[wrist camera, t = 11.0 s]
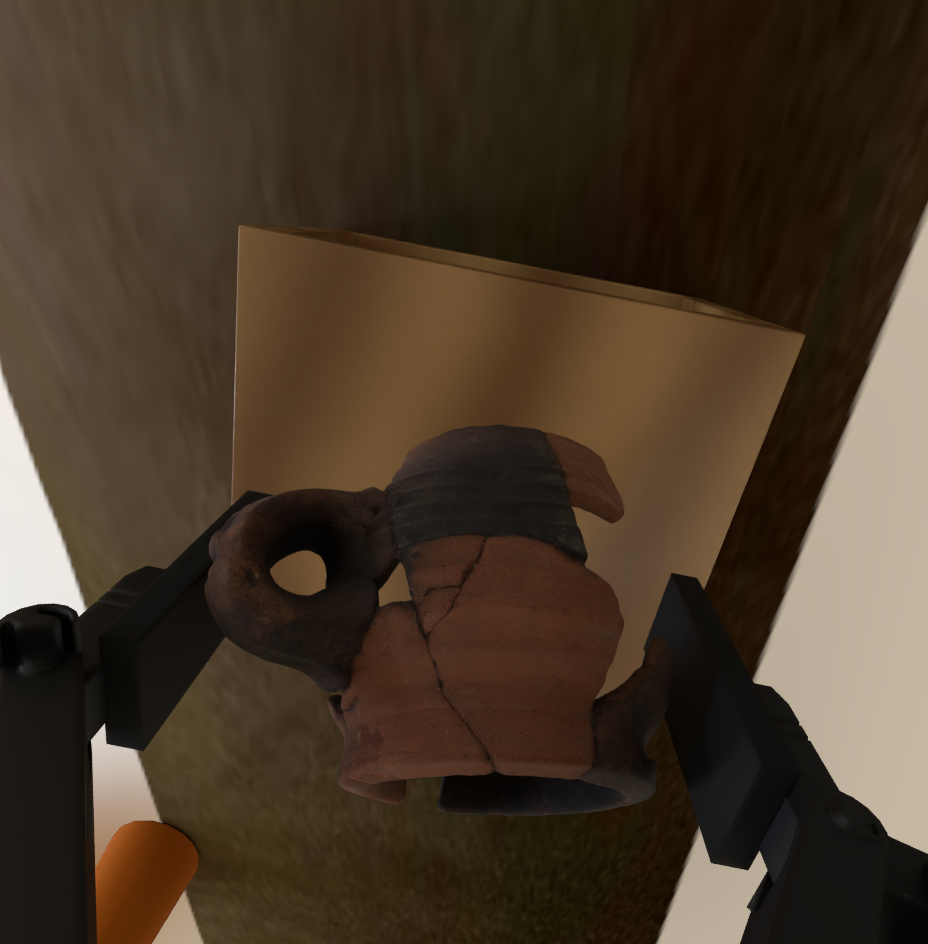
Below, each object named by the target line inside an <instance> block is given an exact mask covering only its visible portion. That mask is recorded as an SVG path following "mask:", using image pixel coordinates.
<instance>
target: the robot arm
mask: <svg viewBox="0 0 928 944" xmlns="http://www.w3.org/2000/svg"><path fill="white" fill-rule="evenodd" d="M269 496H272V495H271V494H266V493H261V492H255V491H250V490H247V491H246V492H245V493H244V494H243V495H242V496H241V497H240V498H239V499H238V500H237V501H236V502H235V503H234V504H233V505H232V506H231V507H230V508H229V509H228V510H227V511H226V512H225V513H224V514H223V515H222V516H221V517H219V518H218V519H217V520H216V521H215V522H214V523H213V524H212V525H211V526H210V527H209V528H208V529H207V530H206V531H205V532H204V533H203V534H202V535H201V536H200V537H199V538H198V539H197V540H196V541H195V542H194V543H193V544H192V545H191V546H189V547H188V548H187V549H186V550H185V551H184V552H183V553H182V554H181V555H180V556H179V557H178V558H177V559H176V560H175V561H174V562H173V563H172V564H171V565H170V566H169V567H168V568H167V569H161V568H156V567H151V566H145V567H143V568H141V569H139V570H137V571H135V572H132V573H130V574H128V575H126V576H125V577H124V578H122V579H121V580H120V581H119V582H118V583H117V584H116V585H114V586H113V587H112V588H111V590H110V592H109V591H108V592H107V593H105V594H104V595H103V596H102V597H101V598H100V599H99V600H98V602H95V603H94V604H93V605H92V606H91V607H90V608H88V609H87V610H86V611H85V612H84V613H83V614H82V615H80V616H78V614H77V612H76V611H75V610H73V609H72V608H70V607H68V606H65V605H59V604H38V605H33V606H29V607H25V608H21V609H19V610H17V611H15V612H12V613H10V614H8V615H6V616H5V617H3V618H2V619H1V620H0V944H97V916H96V880H95V845H94V808H93V772H92V747H91V739H92V738H93V737H94V735H95V734H96V733H97V732H98V731H99V730H100V728H101V727H102V726H103V725H104V724H105V729H106V742H107V744H110V745H116V746H121V747H126V748H131V749H136V750H141V751H144V750H145V748H146V747H147V746H148V744H149V743H150V741H151V740H152V739H153V737H154V736H155V734H156V733H157V732H158V730H159V729H160V727H161V726H162V725H163V723H164V722H165V720H166V719H167V718H168V716H169V715H170V713H171V712H172V711H173V709H174V708H175V706H176V705H177V704H178V702H179V701H180V699H181V698H182V697H183V695H184V694H185V692H186V691H187V690H188V688H189V687H190V685H191V684H192V683H193V681H194V680H195V678H196V677H197V676H198V674H199V673H200V671H201V670H202V669H203V667H204V666H205V664H206V663H207V662H208V660H209V659H210V657H211V656H212V655H213V653H214V652H215V650H216V649H217V648H218V646H219V645H220V643H221V642H222V641H223V639H224V638H225V636H226V635H225V634H224V633H223V632H222V631H221V629H220V628H219V626H218V625H217V623H216V621H215V619H214V617H213V616H212V614H211V612H210V610H209V607H208V604H207V601H206V598H205V592H204V587H205V583H206V581H207V579H208V572H209V570H210V568H211V566H212V565H213V561H212V559H211V557H210V556H209V543H210V540H211V537H212V536H213V534H214V533H216V532H217V531H218V530H220V529H221V528H222V527H223V526H224V525H225V523H226V521H227V520H228V519H229V518H230V517H231V516H232V515H233V514H235V513H236V512H238V511H240V510H242V509H243V508H244V507H245V506H247V505H249V504H252V503H254V502H256V501H258V500H260V499H263V498H266V497H269ZM658 636H660V637H662V638H664V639H665V640H666V641H667V642H668V644H669V647H670V649H671V651H672V653H673V656H674V658H675V660H676V665H677V666H676V671H675V674H674V676H673V679H672V683H671V689H670V693H669V697H670V699H669V705H668V707H667V710H666V712H665V714H664V715H665V718H666V722H667V725H668V728H669V731H670V734H671V738H672V741H673V744H674V747H675V750H676V753H677V757H678V760H679V763H680V766H681V769H682V772H683V776H684V779H685V782H686V785H687V788H688V791H689V795H690V798H691V801H692V804H693V807H694V811H695V814H696V817H697V820H698V823H699V826H700V830H701V833H702V836H703V839H704V842H705V845H706V849H707V852H708V855H709V858H710V861H711V863H714V864H719V865H724V866H729V867H734V868H739V869H744V870H749V868H750V866H751V865H752V863H753V861H754V859H755V857H756V856H757V854H758V852H759V850H760V852H761V854H762V857H763V860H764V862H765V864H766V867H767V870H768V871H767V873H766V875H765V876H764V878H763V880H762V881H761V883H760V885H759V887H758V888H757V890H756V892H755V894H754V895H753V897H752V899H751V901H750V902H749V904H748V906H747V908H748V909H750V910H751V913H750V916H749V919H748V922H747V925H746V927H745V930H744V933H743V936H742V940H741V943H740V944H928V854H927V853H924V852H922V851H920V850H918V849H915V848H913V847H911V846H909V845H907V844H904V843H902V842H900V841H898V840H895V839H893V838H891V837H890V836H888V835H887V832H886V830H885V829H884V827H883V825H882V824H881V822H880V820H879V819H877V817H876V816H875V815H874V814H873V813H872V812H871V811H870V810H869V809H868V808H867V807H865V806H864V805H863V804H861V803H860V802H859V801H857V800H856V799H854V798H853V797H851V796H849V795H847V794H845V793H843V792H841V791H839V789H838V787H837V786H836V784H835V782H834V781H833V779H832V777H831V776H830V774H829V772H828V770H827V769H826V767H825V765H824V764H823V762H822V760H821V758H820V757H819V755H818V753H817V752H816V750H815V748H814V747H813V745H812V743H811V741H808V736H807V735H806V733H805V731H804V730H803V728H802V726H799V721H798V719H797V718H796V716H795V714H794V712H793V711H792V709H791V707H790V706H789V704H788V703H787V702H786V701H785V700H784V699H783V698H782V697H781V696H780V695H779V694H778V693H777V692H776V691H775V690H774V689H773V688H772V687H770V686H765V685H760V684H755V683H754V682H753V680H752V679H751V677H750V675H749V673H748V671H747V669H746V667H745V665H744V664H743V662H742V660H741V658H740V656H739V654H738V652H737V651H736V649H735V647H734V645H733V643H732V641H731V639H730V638H729V636H728V634H727V632H726V630H725V628H724V626H723V625H722V623H721V621H720V619H719V617H718V615H717V613H716V611H715V610H714V608H713V606H712V604H711V602H710V600H709V598H708V597H707V595H706V593H705V591H704V589H703V587H702V585H701V584H700V582H699V580H698V578H696V577H691V576H685V575H680V574H675V573H671V575H670V578H669V580H668V583H667V586H666V589H665V591H664V594H663V597H662V599H661V602H660V605H659V608H658V610H657V613H656V616H655V618H654V621H653V624H652V626H651V629H650V632H649V635H648V637H647V640H646V643H645V645H644V648H643V649H644V652H646V648H647V646H648V644H649V642H650V641H651V640H652V639H653V638H655V637H658Z"/></svg>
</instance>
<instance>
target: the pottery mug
mask: <svg viewBox="0 0 928 944" xmlns="http://www.w3.org/2000/svg"><path fill="white" fill-rule="evenodd" d="M572 507H575V508H581V509H583V510H585V511H587V512H590V513H592V514H594V515H596V516H598V517H600V518H602V519H604V520H606V521H607V522H609V523H616V522H617V521H619V520H620V519H621V518H622V517H623V515H624V505H623V501H622V498H621V496H620V494H619V492H618V490H617V488H616V486H615V484H614V482H613V480H612V478H611V476H610V475H609V473H608V471H607V467H606V464H605V462H604V460H603V459H602V458H601V456H599V455H597V454H596V453H595V452H594V451H592V450H591V449H589V448H588V447H587V446H584V445H582V444H580V443H578V442H576V441H574V440H572V439H570V438H567V437H563V436H559V435H556V434H554V433H548V432H543V431H541V430H538V429H533V428H527V427H513V426H507V425H503V424H499V425H491V426H471V427H465V428H459V429H454V430H451V431H448V432H445V433H443V434H441V435H440V436H436V437H433V438H431V439H428V440H426V441H425V442H423V443H421V444H419V445H417V446H416V447H414V448H412V449H410V451H409V452H408V454H407V456H406V458H405V460H404V462H403V464H402V466H401V468H400V469H399V470H398V471H397V472H396V473H395V475H394V476H393V478H392V481H391V483H390V484H389V485H388V486H387V487H386V488H385V490H384V491H381V490H379V489H378V488H376V487H369V488H366V489H364V490H361V491H355V492H354V491H343V490H335V489H319V488H310V489H297V490H292V491H287V492H283V493H280V494H277V495H272V496H269V497H266V498H263V499H260V500H258V501H256V502H254V503H252V504H249V505H247V506H245V507H244V508H243V509H242V510H240V511H238V512H236V513H235V514H233V515H232V516H231V517H230V518H229V519H228V520H227V521H226V523H225V525H224V526H223V527H222V528H221V529H220V530H218V531H217V532H216V533H214V534H213V536H212V537H211V540H210V543H209V556H210V557H211V559H212V561H213V565H212V566H211V568H210V570H209V572H208V579H207V581H206V583H205V587H204V592H205V598H206V601H207V604H208V607H209V610H210V612H211V614H212V616H213V617H214V619H215V621H216V623H217V625H218V626H219V628H220V629H221V631H222V632H223V633H224V634H225V635H226V637H227V638H228V639H229V640H230V641H232V642H233V643H234V644H236V645H237V646H238V647H240V648H241V649H243V650H245V651H246V652H248V653H250V654H252V655H254V656H256V657H259V658H261V659H264V660H266V661H269V662H273V663H276V664H280V665H284V666H287V667H291V668H294V669H296V670H299V671H301V672H303V673H305V674H306V675H308V676H309V677H310V678H311V679H312V680H313V681H314V682H315V683H316V684H317V685H318V686H319V687H320V688H321V689H323V690H324V691H331V692H336V691H339V690H340V691H341V692H342V696H341V695H334V696H331V697H329V698H328V699H327V705H328V708H329V710H330V713H331V715H332V717H333V718H334V721H335V723H336V724H337V726H338V727H339V728H340V729H341V731H342V733H343V735H344V737H345V741H344V751H343V759H342V763H341V765H340V768H339V770H338V774H337V777H338V782H339V785H340V786H341V787H342V788H344V789H345V790H347V791H350V792H352V793H354V794H358V795H360V796H364V797H368V798H371V799H376V800H380V801H383V802H386V803H390V804H396V805H399V804H402V803H403V801H404V800H405V797H406V784H407V779H411V778H419V777H436V776H442V783H441V790H440V796H439V799H438V803H437V808H438V810H439V811H442V812H447V813H458V814H476V815H489V814H499V815H506V816H524V815H528V816H530V815H533V816H537V815H548V814H569V813H574V814H575V813H584V812H587V813H590V812H593V811H602V810H607V809H612V808H617V807H621V806H628V805H631V804H635V803H638V802H641V801H644V800H646V799H648V798H650V796H652V795H653V793H654V792H655V791H656V786H655V784H656V770H657V768H658V764H657V762H655V761H654V760H653V759H648V758H647V756H646V751H645V747H646V745H647V743H648V742H649V740H650V738H651V737H652V735H653V733H654V732H655V731H656V729H657V728H658V727H659V725H660V723H661V721H662V718H663V716H664V714H665V712H666V710H667V707H668V705H669V699H670V697H669V693H670V689H671V683H672V679H673V676H674V674H675V671H676V666H677V665H676V660H675V658H674V656H673V653H672V651H671V649H670V647H669V644H668V642H667V641H666V640H665V639H664V638H662V637H660V636H658V637H655V638H653V639H652V640H651V641H650V642H649V644H648V646H647V648H646V652H645V655H644V659H643V663H642V666H641V667H640V668H638V669H636V670H635V671H634V672H633V673H632V675H631V676H630V677H629V678H628V679H627V680H626V681H625V682H624V683H623V684H621V685H620V686H618V687H617V688H616V689H614V690H613V691H610V692H608V693H606V694H604V695H603V696H601V697H599V698H597V699H595V698H596V696H597V695H598V693H599V692H600V690H601V688H602V687H603V685H604V683H605V681H606V673H607V670H608V668H609V667H610V665H611V664H612V662H613V659H614V656H615V654H616V650H617V646H618V642H619V640H620V637H621V635H622V632H623V627H624V619H623V617H622V615H621V612H620V607H619V603H618V599H617V597H616V595H615V593H614V591H613V588H612V587H611V585H610V584H609V583H608V582H606V581H605V580H604V579H602V578H601V577H600V576H598V575H597V574H596V573H595V572H593V571H591V570H589V569H588V568H587V567H586V566H585V562H586V561H587V558H588V553H587V550H586V548H585V543H584V540H583V536H582V533H581V530H580V529H579V527H578V526H577V522H576V517H575V513H574V510H573V508H572ZM299 551H311V552H313V553H315V554H317V555H319V556H320V557H321V558H322V560H323V562H324V564H325V567H326V575H327V577H326V583H325V586H326V588H325V589H323V590H320V591H318V592H316V593H314V594H312V595H299V594H295V593H292V592H289V591H287V590H285V589H283V588H282V587H280V586H279V585H278V584H277V583H276V582H275V581H274V579H273V577H272V575H271V573H270V569H271V568H272V567H273V566H274V565H275V564H276V563H277V562H278V561H280V560H282V559H284V558H285V557H287V556H289V555H291V554H294V553H296V552H299ZM399 563H401V564H402V565H403V568H404V570H405V573H406V579H407V581H408V586H409V593H410V595H411V597H412V600H409V601H394V602H390V603H387V604H386V605H384V606H381V607H380V606H379V592H378V591H379V590H380V589H381V588H382V587H383V586H384V584H385V583H386V582H387V581H388V579H389V578H390V576H391V574H392V573H393V571H394V570H395V569H396V567H397V566H398V564H399Z"/></svg>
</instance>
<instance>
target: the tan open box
mask: <svg viewBox="0 0 928 944" xmlns="http://www.w3.org/2000/svg"><path fill="white" fill-rule="evenodd" d="M804 339H805V335H804V334H802V333H799V332H796V331H793V330H790V329H787V328H784V327H782V326H779V325H776V324H773V323H770V322H767V321H764V320H761V319H758V318H755V317H753V316H750V315H747V314H744V313H741V312H738V311H735V310H732V309H729V308H726V307H724V306H721V305H718V304H715V303H712V302H709V301H706V300H703V299H700V298H695V297H690V296H685V295H680V294H675V293H669V292H664V291H659V290H654V289H649V288H644V287H638V286H633V285H628V284H623V283H618V282H613V281H607V280H602V279H597V278H592V277H587V276H582V275H576V274H571V273H566V272H561V271H556V270H551V269H545V268H540V267H535V266H530V265H525V264H520V263H514V262H509V261H504V260H499V259H494V258H489V257H483V256H478V255H473V254H468V253H463V252H458V251H452V250H447V249H442V248H437V247H432V246H427V245H421V244H416V243H411V242H406V241H401V240H396V239H390V238H385V237H380V236H375V235H370V234H365V233H359V232H354V231H349V230H344V229H339V228H316V227H286V226H257V225H256V226H254V225H240V226H239V234H238V272H237V311H236V350H235V389H234V427H233V466H232V505H233V504H234V503H235V502H236V501H237V500H238V499H239V498H240V497H241V496H242V495H243V494H244V493H245V492H246V491H247V490H250V491H255V492H261V493H266V494H271V495H277V494H280V493H283V492H287V491H292V490H297V489H310V488H319V489H335V490H343V491H354V492H355V491H361V490H364V489H366V488H369V487H376V488H378V489H379V490H381V491H384V490H385V488H386V487H387V486H388V485H389V484H390V483H391V481H392V478H393V476H394V475H395V473H396V472H397V471H398V470H399V469H400V468H401V466H402V464H403V462H404V460H405V458H406V456H407V454H408V452H409V451H410V449H412V448H414V447H416V446H417V445H419V444H421V443H423V442H425V441H426V440H428V439H431V438H433V437H436V436H440V435H441V434H443V433H445V432H448V431H451V430H454V429H459V428H465V427H471V426H491V425H499V424H503V425H507V426H513V427H527V428H533V429H538V430H541V431H543V432H548V433H554V434H556V435H559V436H563V437H567V438H570V439H572V440H574V441H576V442H578V443H580V444H582V445H584V446H587V447H588V448H589V449H591V450H592V451H594V452H595V453H596V454H597V455H599V456H601V458H602V459H603V460H604V462H605V464H606V467H607V471H608V473H609V475H610V476H611V478H612V480H613V482H614V484H615V486H616V488H617V490H618V492H619V494H620V496H621V498H622V501H623V505H624V515H623V517H622V518H621V519H620V520H619V521H617V522H616V523H609V522H607V521H606V520H604V519H602V518H600V517H598V516H596V515H594V514H592V513H590V512H587V511H585V510H583V509H581V508H575V507H572V508H573V510H574V513H575V517H576V522H577V526H578V527H579V529H580V530H581V533H582V536H583V540H584V543H585V548H586V550H587V553H588V558H587V561H586V562H585V566H586V567H587V568H588V569H589V570H591V571H593V572H595V573H596V574H597V575H598V576H600V577H601V578H602V579H604V580H605V581H606V582H608V583H609V584H610V585H611V587H612V588H613V591H614V593H615V595H616V597H617V599H618V603H619V607H620V612H621V615H622V617H623V619H624V627H623V632H622V635H621V637H620V640H619V642H618V646H617V650H616V654H615V656H614V659H613V662H612V664H611V665H610V667H609V668H608V670H607V673H606V681H605V683H604V685H603V687H602V688H601V690H600V692H599V693H598V695H597V696H596V698H595V699H597V698H599V697H601V696H603V695H604V694H606V693H608V692H610V691H613V690H614V689H616V688H617V687H618V686H620V685H621V684H623V683H624V682H625V681H626V680H627V679H628V678H629V677H630V676H631V675H632V673H633V672H634V671H635V670H636V669H638V668H640V667H641V666H642V663H643V659H644V655H645V652H644V649H643V648H644V645H645V643H646V640H647V637H648V635H649V632H650V629H651V626H652V624H653V621H654V618H655V616H656V613H657V610H658V608H659V605H660V602H661V599H662V597H663V594H664V591H665V589H666V586H667V583H668V580H669V578H670V575H671V573H675V574H680V575H685V576H691V577H696V578H698V580H699V582H700V584H701V585H702V587H703V589H704V588H705V586H706V583H707V581H708V578H709V576H710V573H711V571H712V568H713V566H714V563H715V561H716V558H717V556H718V553H719V551H720V548H721V546H722V543H723V541H724V538H725V536H726V533H727V531H728V528H729V526H730V523H731V521H732V518H733V516H734V513H735V511H736V508H737V506H738V503H739V501H740V498H741V496H742V493H743V491H744V488H745V486H746V483H747V481H748V478H749V476H750V473H751V471H752V468H753V466H754V463H755V461H756V458H757V456H758V453H759V451H760V448H761V446H762V443H763V441H764V438H765V436H766V433H767V431H768V428H769V426H770V423H771V421H772V418H773V416H774V413H775V411H776V408H777V406H778V403H779V401H780V398H781V396H782V393H783V391H784V388H785V386H786V383H787V381H788V378H789V376H790V373H791V371H792V368H793V366H794V363H795V361H796V358H797V356H798V353H799V351H800V348H801V346H802V344H803V341H804ZM232 505H231V506H232ZM270 573H271V575H272V577H273V579H274V581H275V582H276V583H277V584H278V585H279V586H280V587H282V588H283V589H285V590H287V591H289V592H292V593H295V594H299V595H312V594H314V593H316V592H318V591H320V590H323V589H325V588H326V586H325V583H326V577H327V575H326V567H325V564H324V562H323V560H322V558H321V557H320V556H319V555H317V554H315V553H313V552H311V551H299V552H296V553H294V554H291V555H289V556H287V557H285V558H284V559H282V560H280V561H278V562H277V563H276V564H275V565H274V566H273V567H272V568H271V569H270ZM378 592H379V606H380V607H381V606H384V605H386V604H387V603H390V602H394V601H409V600H412V597H411V595H410V593H409V586H408V581H407V579H406V573H405V570H404V568H403V565H402V564H401V563H399V564H398V566H397V567H396V569H395V570H394V571H393V573H392V574H391V576H390V578H389V579H388V581H387V582H386V583H385V584H384V586H383V587H382V588H381V589H380V590H379V591H378Z"/></svg>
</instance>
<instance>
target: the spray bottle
mask: <svg viewBox="0 0 928 944" xmlns="http://www.w3.org/2000/svg"><path fill="white" fill-rule="evenodd" d="M198 859H199V856H198V853H197V851H196V849H195V846H194V844H193V843H192V842H191V841H190V840H189V839H188V838H187V837H186V836H185V835H184V834H183V833H182V832H180V831H178V830H177V829H175V828H173V827H171V826H169V825H167V824H163V823H159V822H156V821H134V822H131V823H128V824H126V825H123V826H122V827H121V828H119V830H118V831H117V832H116V833H115V834H114V836H113V837H112V839H111V841H110V843H109V844H108V846H107V848H106V850H105V852H104V854H103V855H102V857H101V859H100V861H99V863H98V865H97V866H96V868H95V880H96V916H97V944H152V942H153V941H154V939H155V938H156V936H157V934H158V933H159V931H160V929H161V928H162V926H163V924H164V923H165V921H166V920H167V918H168V916H169V915H170V913H171V911H172V910H173V908H174V906H175V905H176V903H177V901H178V900H179V898H180V896H181V895H182V893H183V892H184V890H185V888H186V887H187V885H188V883H189V882H190V880H191V879H192V877H193V875H194V874H195V872H196V870H197V865H198Z"/></svg>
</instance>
